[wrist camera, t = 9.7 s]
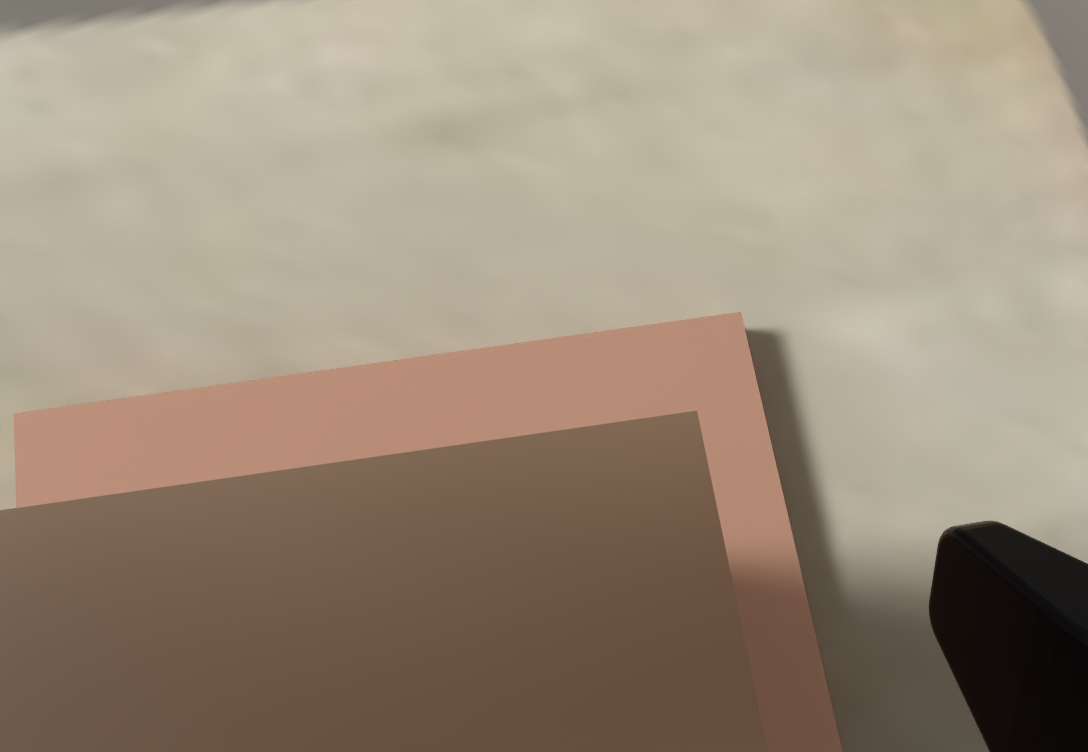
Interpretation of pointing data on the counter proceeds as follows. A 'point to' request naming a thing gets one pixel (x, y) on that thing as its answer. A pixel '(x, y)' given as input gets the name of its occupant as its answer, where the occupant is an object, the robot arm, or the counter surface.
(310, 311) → the counter surface
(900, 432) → the counter surface
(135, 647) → the walnut block
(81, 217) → the counter surface
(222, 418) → the terracotta mat
